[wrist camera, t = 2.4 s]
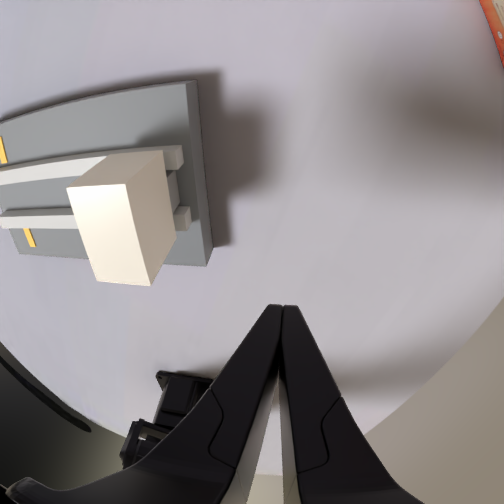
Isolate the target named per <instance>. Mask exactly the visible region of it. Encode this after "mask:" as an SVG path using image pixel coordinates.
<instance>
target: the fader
mask: <svg viewBox="0 0 504 504" xmlns="http://www.w3.org/2000/svg"><path fill="white" fill-rule="evenodd" d="M66 189H67V193H68V196H69V200H70V203H71V207H72V210H73V213H74V216H75V220H76V223H77V226H78V229H79V232H80V235H81V238H82V241H83V244H84V247H85V250H86V252H87V255H88V258H89V261H90V263H91V266H92V269H93V271H94V274H95V276H96V279H97V281H102V282H112V283H122V284H132V285H143V286H151V285H152V283H153V281H154V279H155V277H156V275H157V274H158V272H159V270H160V268H161V266H162V264H163V262H164V260H165V259H166V257H167V255H168V253H169V251H170V249H171V247H172V246H173V244H174V242H175V240H176V238H177V237H176V231H175V225H174V220H173V212H174V211H175V209H176V208H177V206H178V205H179V203H180V197H179V190H178V183H177V176H176V170H165V164H164V157H163V150H156V151H142V152H129V153H118V154H110V155H108V156H107V157H106V158H104V159H103V160H102V161H100V162H99V163H97V164H96V165H95V166H93V167H92V168H91V169H89V170H88V171H87V172H85V173H84V174H83V175H82V176H80V177H79V178H78V179H76V180H75V181H74V182H73V183H71V184H70V185H69V186H68V187H66Z"/></svg>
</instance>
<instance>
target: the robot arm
mask: <svg viewBox="0 0 504 504" xmlns="http://www.w3.org/2000/svg"><path fill="white" fill-rule="evenodd" d="M278 371H279V400H280V420H281V442H282V466H283V493H284V504H424V503H423V502H421V501H420V500H418V499H417V498H415V497H414V496H413V495H411V494H409V493H408V492H407V491H405V490H404V489H403V488H402V487H400V486H399V485H398V484H397V483H396V482H395V481H394V479H393V478H392V477H391V476H390V474H389V473H388V472H387V470H386V469H385V467H384V466H383V464H382V463H381V461H380V460H379V458H378V457H377V455H376V454H375V452H374V451H373V449H372V448H371V446H370V445H369V443H368V442H367V440H366V439H365V437H364V435H363V434H362V432H361V431H360V429H359V427H358V426H357V424H356V422H355V421H354V419H353V417H352V415H351V413H350V411H349V409H348V407H347V405H346V403H345V401H344V399H343V397H341V393H340V391H339V389H338V387H337V385H336V383H335V380H334V378H333V376H332V374H331V372H330V370H329V368H328V366H327V364H326V362H325V360H324V358H323V356H322V354H321V352H320V350H319V348H318V346H317V344H316V342H315V339H314V337H313V335H312V333H311V331H310V329H309V327H308V325H307V323H306V321H305V319H304V317H303V315H302V313H301V311H300V309H299V307H298V306H296V305H284V306H282V305H279V304H269V305H268V306H267V307H266V308H265V310H264V311H263V313H262V314H261V316H260V317H259V318H258V320H257V321H256V323H255V324H254V326H253V327H252V328H251V330H250V331H249V333H248V334H247V335H246V337H245V338H244V340H243V341H242V343H241V344H240V345H239V347H238V348H237V350H236V351H235V352H234V354H233V355H232V356H231V358H230V359H229V361H228V362H227V363H226V365H225V366H224V368H223V369H222V370H221V372H220V373H219V374H218V376H217V377H216V379H215V380H214V381H213V380H210V379H203V378H195V377H188V376H181V375H174V374H168V373H162V372H157V373H156V379H157V381H158V383H159V385H160V387H161V389H162V391H163V392H162V395H161V398H160V401H159V404H158V407H157V410H156V413H155V417H154V420H153V423H149V422H147V421H145V420H144V419H141V418H140V419H139V421H132V424H131V427H130V430H129V433H128V435H127V438H126V440H125V443H124V445H123V447H122V449H121V452H120V458H121V460H122V462H123V463H122V465H123V470H121V471H119V472H116V473H114V474H112V475H109V476H106V477H104V478H101V479H99V480H96V481H94V482H91V483H88V484H85V485H82V486H79V487H77V488H73V489H69V490H53V489H51V488H48V487H46V486H44V485H42V484H41V483H39V482H37V481H35V480H33V479H31V478H29V477H26V478H24V479H22V480H20V481H19V482H16V483H15V484H13V485H12V486H11V487H9V488H8V489H7V488H5V487H4V486H2V485H0V504H246V502H247V500H248V496H249V492H250V489H251V485H252V481H253V478H254V474H255V470H256V467H257V463H258V459H259V455H260V451H261V447H262V443H263V439H264V435H265V431H266V427H267V423H268V419H269V414H270V410H271V406H272V402H273V397H274V393H275V388H276V384H277V379H278ZM140 438H144V439H146V440H140Z"/></svg>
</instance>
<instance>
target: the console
mask: <svg viewBox="0 0 504 504" xmlns="http://www.w3.org/2000/svg"><path fill="white" fill-rule="evenodd" d="M156 150H163V157H164V164H165V170H176V176H177V183H178V190H179V197H180V203H179V205H178V206H177V208H176V209H175V211H174V212H173V220H174V225H175V231H176V237H177V238H176V240H175V242H174V244H173V246H172V247H171V249H170V251H169V253H168V255H167V257H166V259H165V260H164V262H163V264H168V265H185V266H203V267H206V266H207V264H208V261H209V258H210V256H211V253H212V250H213V242H212V234H211V225H210V216H209V207H208V198H207V188H206V179H205V168H204V158H203V147H202V136H201V125H200V113H199V100H198V87H197V80H189V81H179V82H170V83H162V84H154V85H147V86H141V87H134V88H128V89H123V90H117V91H112V92H107V93H102V94H97V95H92V96H88V97H83V98H79V99H75V100H71V101H67V102H63V103H59V104H56V105H52V106H48V107H45V108H41V109H38V110H35V111H32V112H28V113H25V114H22V115H19V116H16V117H13V118H10V119H7V120H4V121H2V122H0V207H1V210H2V212H3V213H2V214H1V215H0V224H1V227H2V228H9V231H10V233H11V236H12V238H13V240H14V243H15V245H16V248H17V250H18V252H19V254H26V255H38V256H51V257H65V258H78V259H89V258H88V255H87V252H86V250H85V247H84V244H83V241H82V238H81V235H80V232H79V229H78V226H77V223H76V220H75V216H74V213H73V210H72V207H71V203H70V200H69V196H68V193H67V189H66V187H68V186H69V185H70V184H71V183H73V182H74V181H75V180H76V179H78V178H79V177H80V176H82V175H83V174H84V173H85V172H87V171H88V170H89V169H91V168H92V167H93V166H95V165H96V164H97V163H99V162H100V161H102V160H103V159H104V158H106V157H107V156H108V155H110V154H118V153H129V152H142V151H156Z"/></svg>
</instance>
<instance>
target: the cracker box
mask: <svg viewBox="0 0 504 504" xmlns="http://www.w3.org/2000/svg"><path fill="white" fill-rule="evenodd" d="M479 1H480V4H481V6H482V8H483V11H484V13H485V16H486V18H487V20H488V23H489V26H490V28H491V31H492V34H493V36H494V39H495V42H496V45H497V48H498V51H499V54H500V58H501V61H502V64H503V67H504V0H479Z"/></svg>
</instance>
